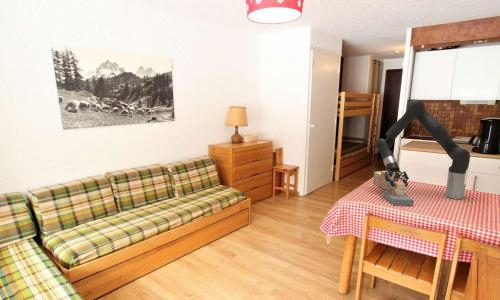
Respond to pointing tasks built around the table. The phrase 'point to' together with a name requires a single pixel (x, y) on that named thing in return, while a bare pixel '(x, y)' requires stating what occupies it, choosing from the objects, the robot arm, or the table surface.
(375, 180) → the stack of blocks
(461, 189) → the robot arm
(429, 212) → the table surface
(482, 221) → the table surface
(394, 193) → the birch block
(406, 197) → the slate plinth
